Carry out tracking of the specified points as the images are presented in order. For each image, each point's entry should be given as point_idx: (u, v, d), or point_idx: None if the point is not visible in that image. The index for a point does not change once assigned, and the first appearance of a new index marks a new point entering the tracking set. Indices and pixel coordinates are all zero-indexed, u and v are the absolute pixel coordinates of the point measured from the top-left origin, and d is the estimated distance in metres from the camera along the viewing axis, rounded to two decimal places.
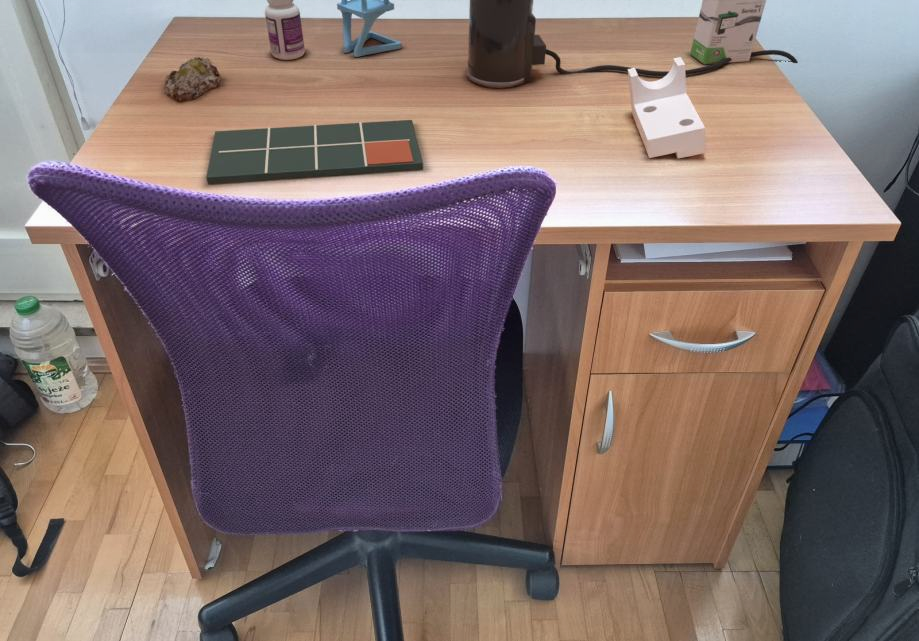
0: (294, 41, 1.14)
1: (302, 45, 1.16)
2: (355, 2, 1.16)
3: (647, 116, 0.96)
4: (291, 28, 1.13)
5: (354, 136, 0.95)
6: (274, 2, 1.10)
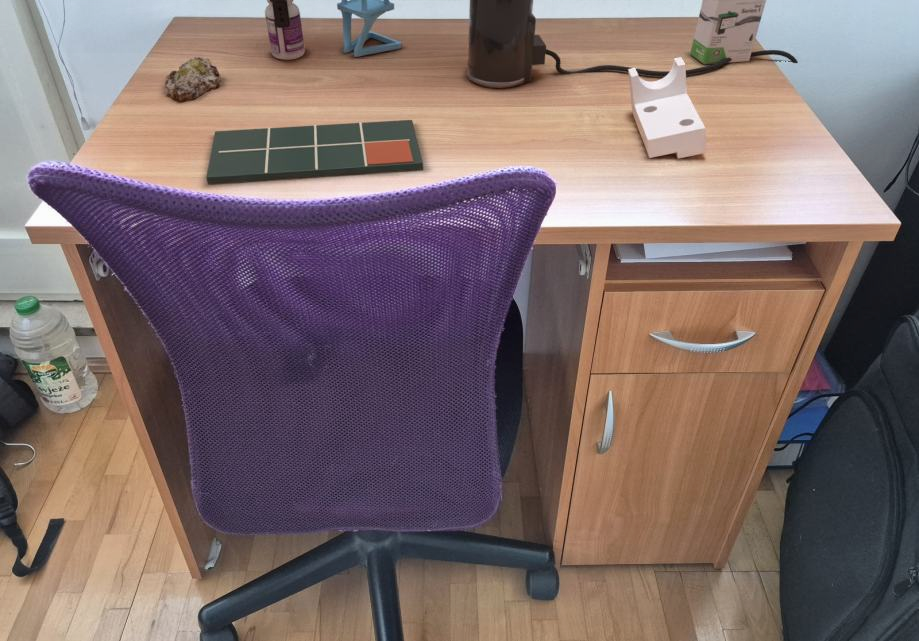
0: (294, 41, 1.14)
1: (302, 45, 1.16)
2: (355, 2, 1.16)
3: (647, 116, 0.96)
4: (291, 28, 1.13)
5: (354, 136, 0.95)
6: None
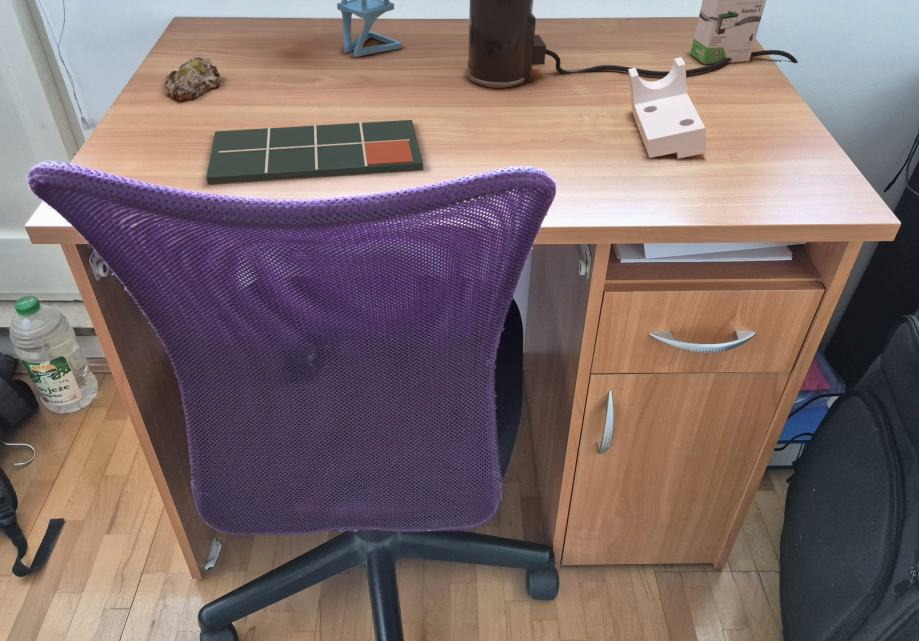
0: None
1: None
2: (355, 2, 1.16)
3: (647, 116, 0.96)
4: None
5: (354, 136, 0.95)
6: None
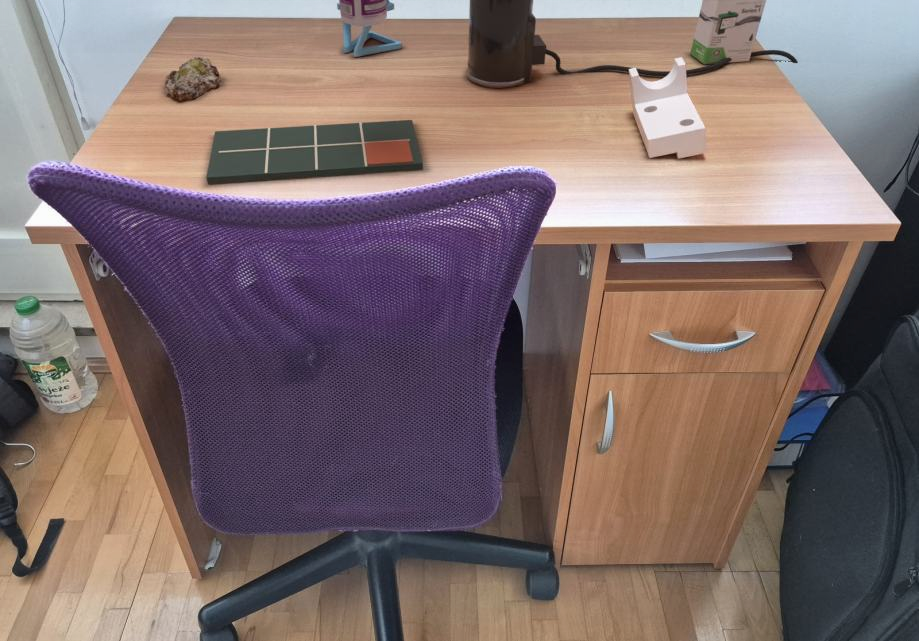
0: (376, 0, 0.81)
1: (384, 7, 0.82)
2: None
3: (647, 116, 0.96)
4: None
5: (354, 136, 0.95)
6: None
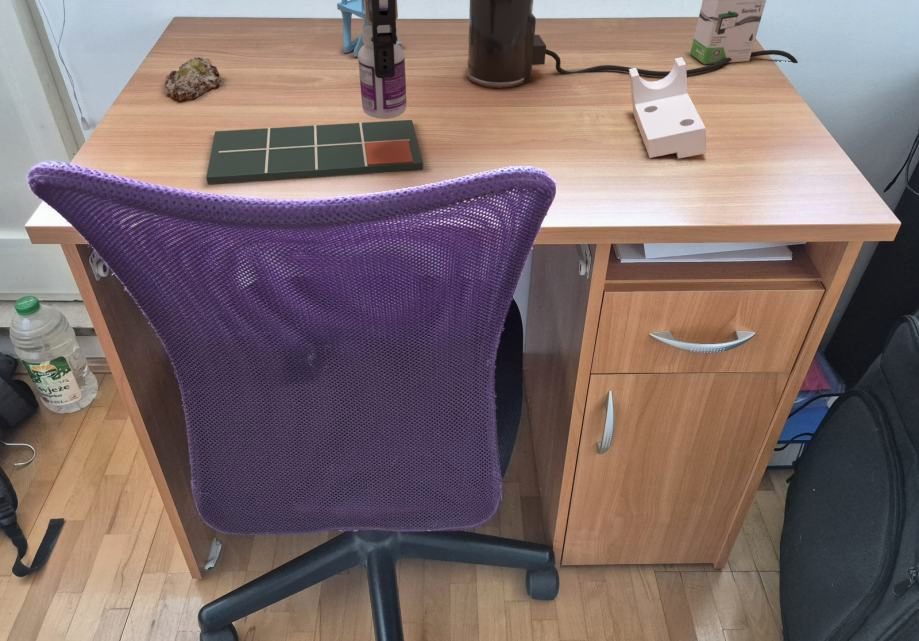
0: (397, 95, 0.84)
1: (404, 100, 0.86)
2: (355, 2, 1.16)
3: (648, 116, 0.96)
4: (394, 78, 0.83)
5: (354, 136, 0.95)
6: None
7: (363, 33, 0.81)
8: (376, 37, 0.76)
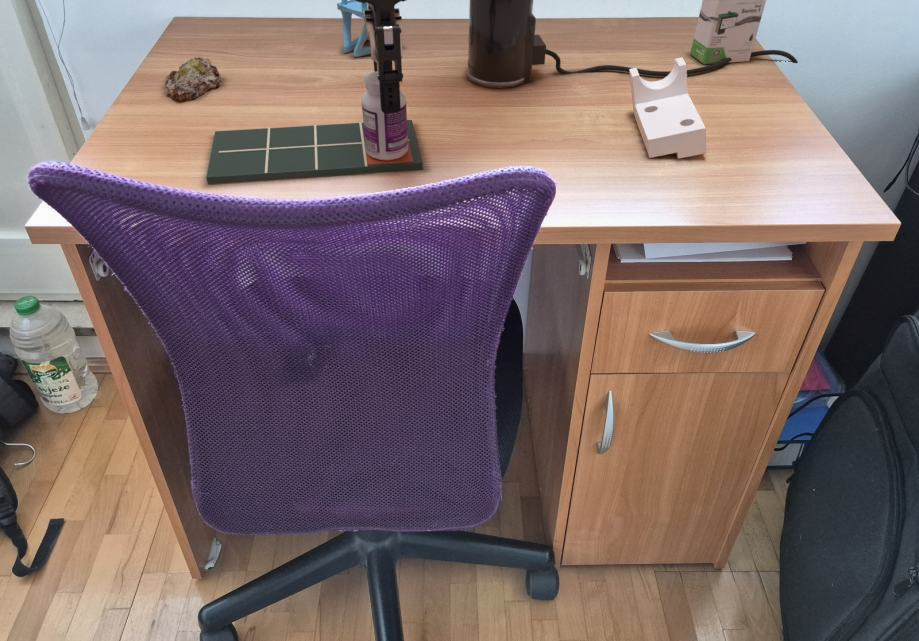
0: (398, 138, 0.88)
1: (406, 142, 0.90)
2: (355, 2, 1.16)
3: (648, 116, 0.96)
4: (396, 123, 0.86)
5: (354, 136, 0.95)
6: (376, 91, 0.84)
7: (366, 81, 0.84)
8: (382, 75, 0.77)
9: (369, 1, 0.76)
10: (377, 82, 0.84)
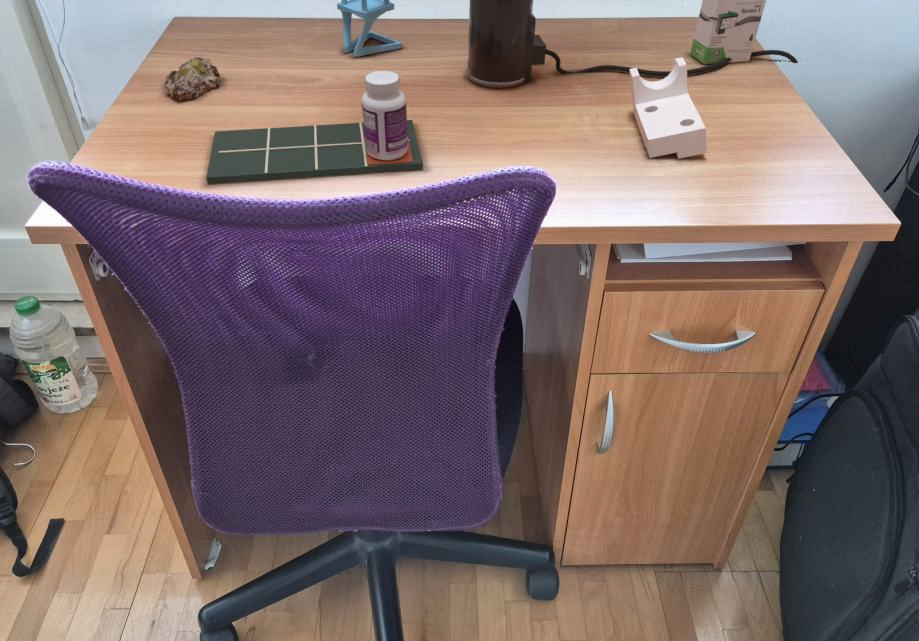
0: (398, 138, 0.88)
1: (406, 142, 0.90)
2: (355, 2, 1.16)
3: (648, 116, 0.96)
4: (396, 123, 0.86)
5: (354, 136, 0.95)
6: (376, 91, 0.84)
7: (366, 81, 0.84)
8: None
9: None
10: (377, 82, 0.84)
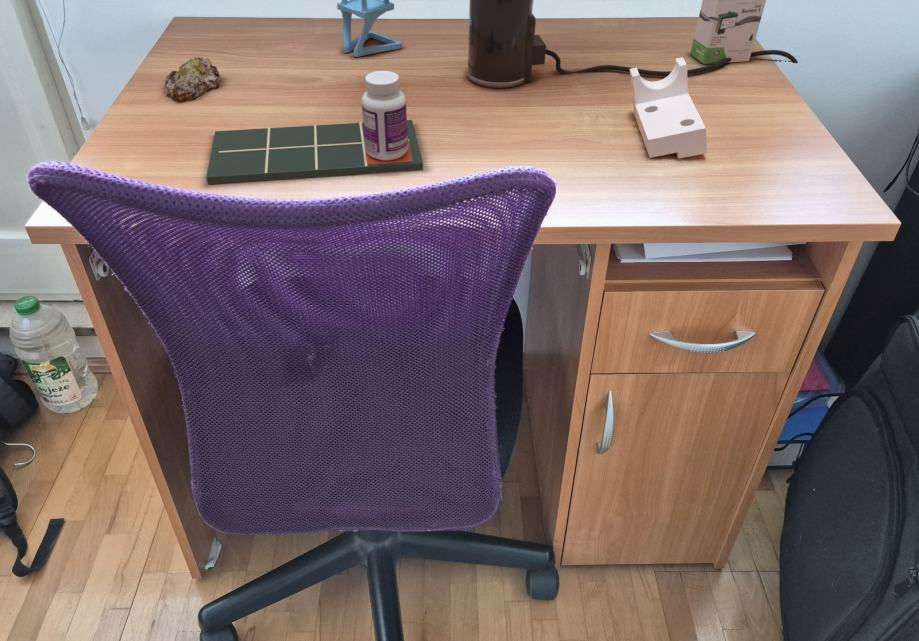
0: (398, 138, 0.88)
1: (406, 142, 0.90)
2: (355, 2, 1.16)
3: (648, 116, 0.96)
4: (396, 123, 0.86)
5: (354, 136, 0.95)
6: (376, 91, 0.84)
7: (366, 81, 0.84)
8: None
9: None
10: (377, 82, 0.84)
